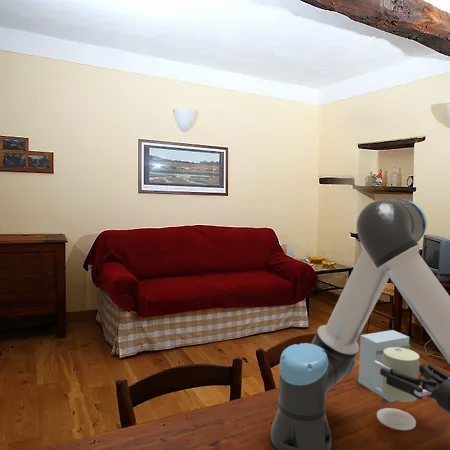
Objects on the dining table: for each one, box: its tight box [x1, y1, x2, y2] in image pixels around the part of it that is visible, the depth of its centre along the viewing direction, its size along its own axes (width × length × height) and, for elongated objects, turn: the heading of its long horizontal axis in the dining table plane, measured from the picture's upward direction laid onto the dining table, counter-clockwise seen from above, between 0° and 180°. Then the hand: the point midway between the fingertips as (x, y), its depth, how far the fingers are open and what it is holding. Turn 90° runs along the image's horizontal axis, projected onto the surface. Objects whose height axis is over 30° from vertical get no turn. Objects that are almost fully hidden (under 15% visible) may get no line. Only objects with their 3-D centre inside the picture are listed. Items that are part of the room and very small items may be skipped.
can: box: [381, 347, 420, 403], centre depth 113 cm, size 9×9×12 cm
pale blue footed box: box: [357, 329, 411, 403], centre depth 132 cm, size 14×14×16 cm
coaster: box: [376, 407, 417, 432], centre depth 114 cm, size 10×10×1 cm
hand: (387, 362), depth 117 cm, fingers closed on can, 9 cm apart
